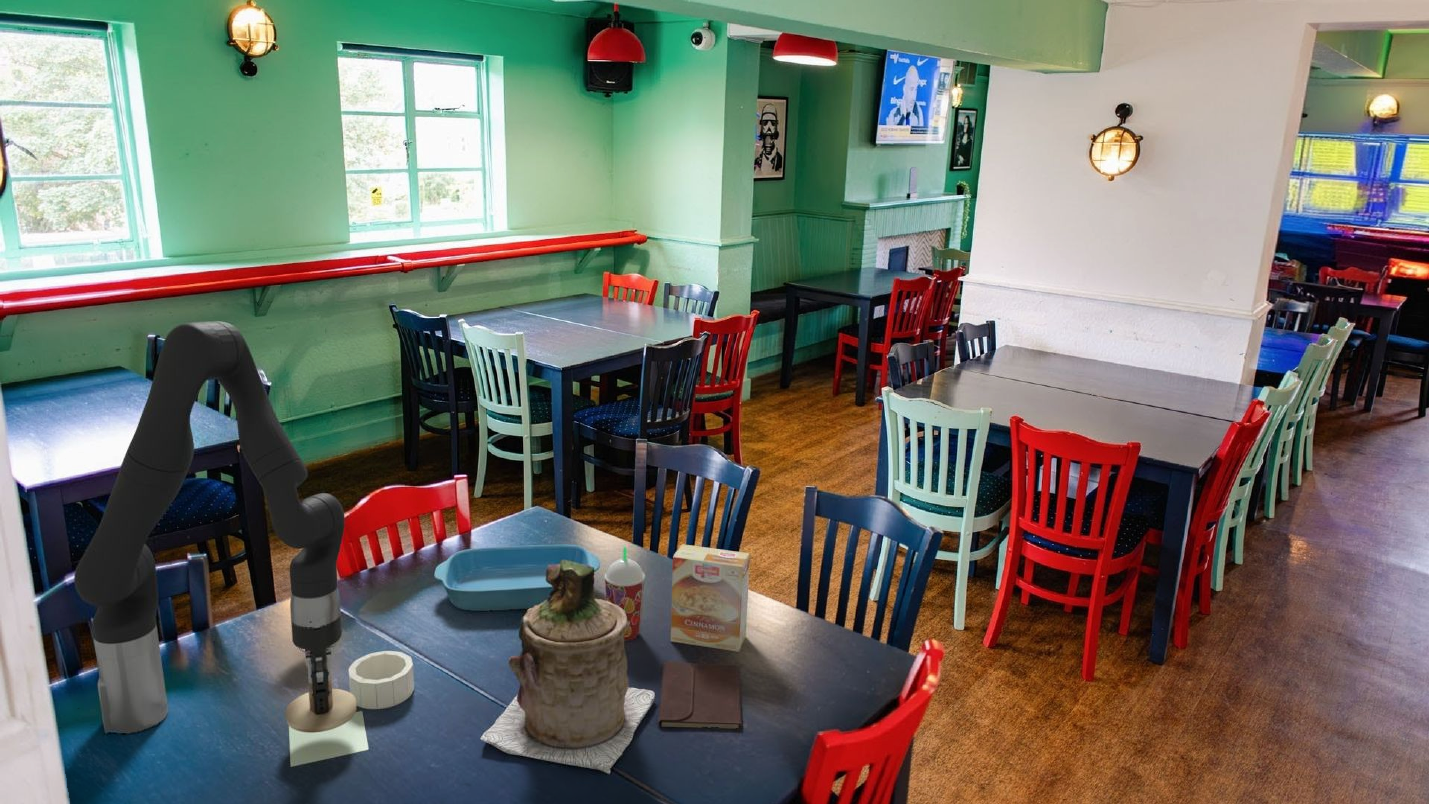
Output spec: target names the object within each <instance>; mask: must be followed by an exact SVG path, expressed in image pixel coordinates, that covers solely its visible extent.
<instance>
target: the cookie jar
mask: <svg viewBox="0 0 1429 804" xmlns="http://www.w3.org/2000/svg"><path fill="white" fill-rule="evenodd" d="M594 576H595V572H594V567H591V566H589V565H584V564H580V563H576V562H571V561H568V560H562V561H561V564H558V565H550V566H548V567H547V569H546V582H547V583H549V584H550V585H552V586H553V588H554V590H552V591H551V592H550V593H549V597H548V600H546V601H544V602H543V603H540V604H539V605H535V606H534V607H533V608H529V609H526V610H527V611H526V612H525V614H524V616H523V617H522V618H521V620H520V622H519V630H518V638H519V640H520V641H521V652H520V654H519V655H512V656H510V657H509V659H508V666H509V668H510V670H511V671H512V672H513V673H514V675H515V677H516V678H517V680H518V682H519V688H518V692H517V695H516V696H515V697H514V698H512V701H511V702H510V703H509V705H508V706H507V707H506V708H505V710H504V712H503V713H502V714H500V715H499V717H497V719H496V720H495V721H494V724H493V725H492V726H490V727H489V728H488V729H487V730H486V731H484V732H483V734H482V736H481V737H480V741H482V742H485V743H487V744H489V745H492V746H493V747H495V748H497V749H498V750H500V751H502V752H503V753H506V754H508V755H515V756H523V757H527V758H533V759H537V760H542V761H548V762H551V763H552V762H553V763H556V764H564V765H567V766H568V765H570V766H575V767H580V768H588V769H590V770H591V769H593V770H596V771H597V770H598V771H602V772H603V773H606V774H608V775H610V773H611V771H612V770H611V768H612V767H613V766H614V764H615V763H616V762H617V760H618V759H619V758H620V757H621V756H622V755H623V752H624V751H625V750H626V748H627V747H628V746H629V745H630V743H631V741H632V740H633V737H634V734H635V731H636V730H637V728H638V726H639V725H640V723H641V722H642V720H643V719H644V718H645V716H646V715H647V713H648V711H649V710H650V708H651V706H652V705H653V704H654V700H655V696H656V693H655V692H654V690H651V689H650V690H649V689H645V688H640V689H639V688H635V687H629V677H628V673H627V672H628V658H627V656H626V650H625V641H624V635H623V634H624V633H625V632H626V630H627V629H628V621H627V616H626V613H625V611H624V610H623V609H622V608H621V607H619V606H617V605H615V604H613V603H610V602H608V601H606V599H605V600H604V599H599V598H595V597H594V591H595V588H594V586H595V577H594Z"/></svg>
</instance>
